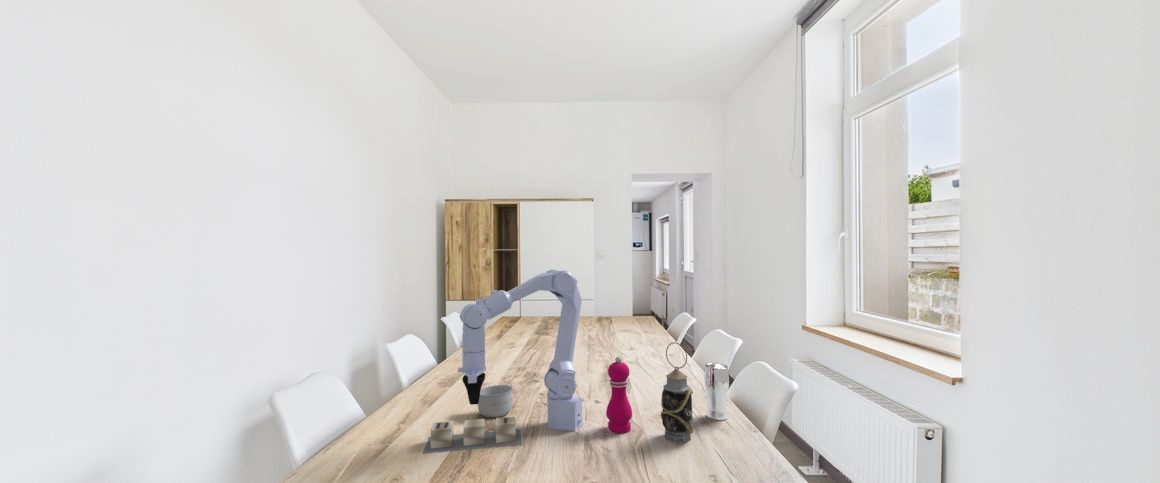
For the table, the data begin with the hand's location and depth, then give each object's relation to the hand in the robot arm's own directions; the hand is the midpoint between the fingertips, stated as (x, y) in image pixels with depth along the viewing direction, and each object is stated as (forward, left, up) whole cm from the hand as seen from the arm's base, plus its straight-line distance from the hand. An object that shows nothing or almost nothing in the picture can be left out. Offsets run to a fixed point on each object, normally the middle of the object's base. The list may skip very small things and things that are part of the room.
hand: (474, 403), depth 117 cm
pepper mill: (-33, -21, -10) cm, 41 cm away
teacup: (+5, -21, -11) cm, 24 cm away
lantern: (-49, -20, -10) cm, 54 cm away
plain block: (0, 0, -10) cm, 10 cm away
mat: (0, 0, -10) cm, 10 cm away
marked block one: (-7, -4, -10) cm, 12 cm away
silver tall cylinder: (-58, -39, -10) cm, 71 cm away
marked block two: (+7, +4, -10) cm, 12 cm away
